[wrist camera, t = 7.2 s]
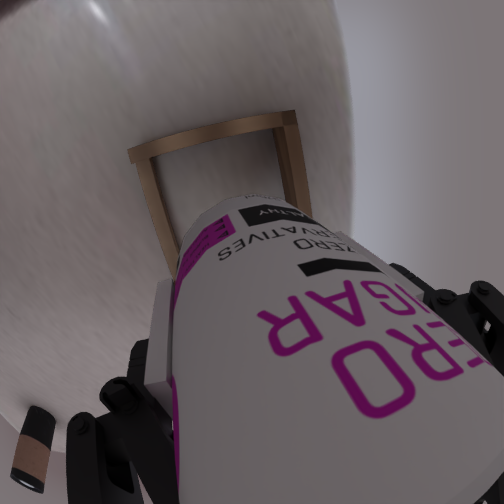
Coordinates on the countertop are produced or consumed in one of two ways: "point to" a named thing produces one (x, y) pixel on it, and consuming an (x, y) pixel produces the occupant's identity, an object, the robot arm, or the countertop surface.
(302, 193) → the dock bay
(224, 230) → the supplement can
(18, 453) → the travel mug
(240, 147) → the countertop surface
